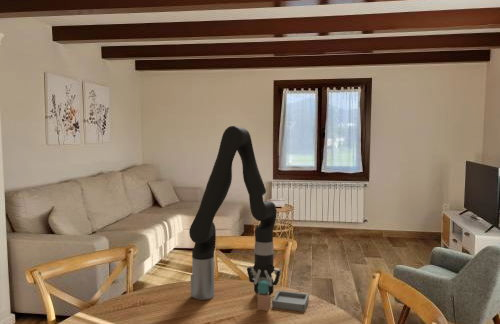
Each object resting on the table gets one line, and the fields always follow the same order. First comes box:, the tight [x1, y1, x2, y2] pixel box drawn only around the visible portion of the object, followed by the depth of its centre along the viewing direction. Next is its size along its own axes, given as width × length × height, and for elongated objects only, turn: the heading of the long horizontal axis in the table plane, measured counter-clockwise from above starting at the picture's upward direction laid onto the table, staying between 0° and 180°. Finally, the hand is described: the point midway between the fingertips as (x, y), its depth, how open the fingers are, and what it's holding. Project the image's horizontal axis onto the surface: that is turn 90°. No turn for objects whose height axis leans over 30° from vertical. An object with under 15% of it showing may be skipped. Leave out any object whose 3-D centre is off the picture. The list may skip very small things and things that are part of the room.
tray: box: [271, 290, 310, 312], centre depth 165 cm, size 13×11×3 cm
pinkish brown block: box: [257, 292, 271, 312], centre depth 161 cm, size 4×4×6 cm
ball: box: [258, 281, 269, 294], centre depth 161 cm, size 5×5×5 cm
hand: (263, 293), depth 161 cm, fingers closed on ball, 5 cm apart
